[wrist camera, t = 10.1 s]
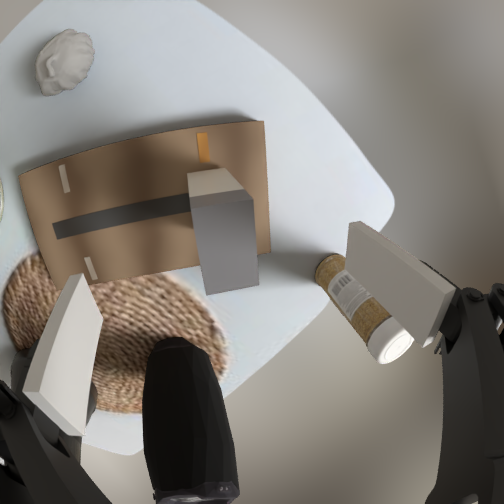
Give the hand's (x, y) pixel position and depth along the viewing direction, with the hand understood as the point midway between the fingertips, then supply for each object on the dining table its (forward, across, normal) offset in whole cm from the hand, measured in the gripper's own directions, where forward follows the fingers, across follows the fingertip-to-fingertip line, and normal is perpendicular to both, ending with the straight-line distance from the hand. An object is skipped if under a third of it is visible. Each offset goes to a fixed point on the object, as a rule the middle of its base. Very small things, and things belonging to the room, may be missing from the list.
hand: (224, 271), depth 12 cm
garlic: (+14, -10, +15) cm, 22 cm away
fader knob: (+11, +1, 0) cm, 11 cm away
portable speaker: (+14, -6, -20) cm, 25 cm away
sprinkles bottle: (+13, +14, -11) cm, 22 cm away
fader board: (+13, -5, 0) cm, 14 cm away
